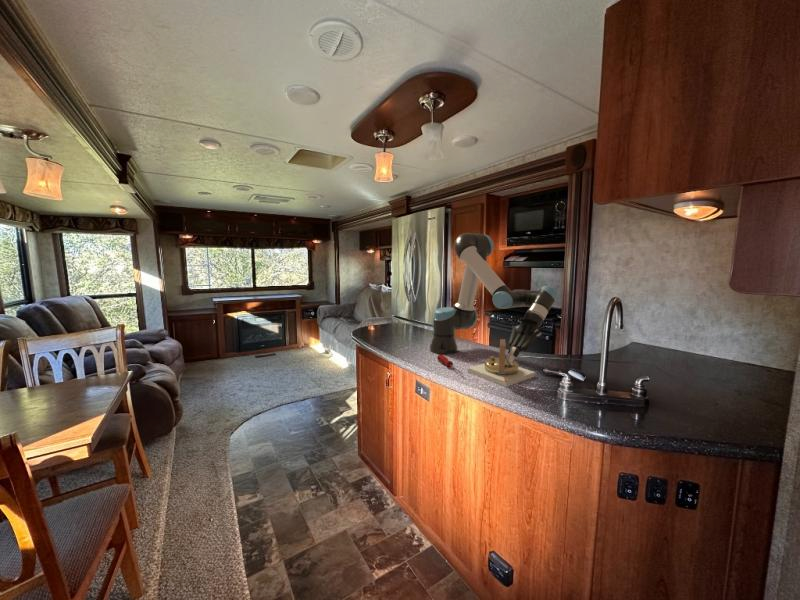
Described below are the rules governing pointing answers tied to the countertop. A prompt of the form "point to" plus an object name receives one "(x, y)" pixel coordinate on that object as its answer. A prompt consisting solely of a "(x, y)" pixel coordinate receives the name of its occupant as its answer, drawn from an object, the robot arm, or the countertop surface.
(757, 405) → the countertop surface
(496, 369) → the brass flange bracket
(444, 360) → the screwdriver
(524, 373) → the plate
